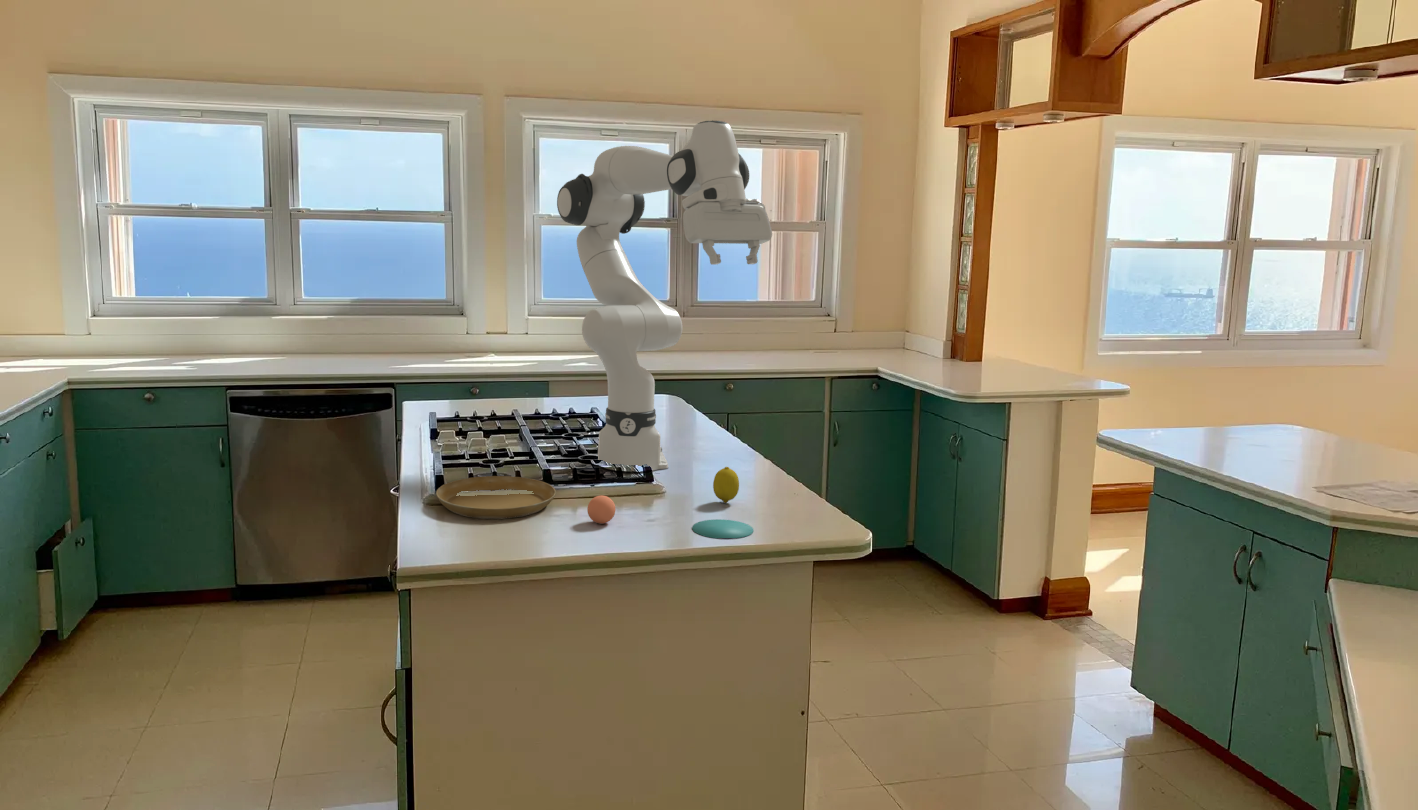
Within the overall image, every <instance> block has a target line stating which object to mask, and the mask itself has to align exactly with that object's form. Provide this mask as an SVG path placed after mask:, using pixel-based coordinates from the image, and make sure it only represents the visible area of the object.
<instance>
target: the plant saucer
mask: <svg viewBox="0 0 1418 810" xmlns="http://www.w3.org/2000/svg"><path fill="white" fill-rule="evenodd" d="M499 489H500V490H501V489H504V490H506V489H507V490H508V489H512V490H513V489H514V490H515V489H516V490H527V491H533V492H532V493H534V494H520V493H519V494H509V495H508V494H507V495H477V496H476V495H475V496H460V495H459V496H456V495H457V493H459V492H461V491H476V490H478V491H479V490H491V491H492V490H499ZM556 491H557V490H556V488H554V486H553V485H552V484H550V483H547V482H545V481H542V480H540V479H539V480H538V479H533V478H528V477H521V476H509V475H489V476H486V475H485V476H474V477H467V478H462V479H457V480H452V481H450V482H447V483H444V484H442V485H441V486H440V487H438V488H437V489H436V491H435V493H436V494H435V495H436V497H437V499H438V501H439V502H440V503H441V505H442V506H443V507H445V508H446V509H447V510H449V511H450V512H452V513H454V514H456V515H460V516H464V517H468V518H475V519H486V520H488V519H490V520H491V519H492V520H495V519H496V520H500V519H513V518H514V519H515V518H522V517H525V516H529V515H533V514H536V513H538V512H540V511H542V510H543V509H545V508H546V507H547V506H549V504H550V503H552V501H553V500H554V498H555V496H556Z"/></svg>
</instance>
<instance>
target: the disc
mask: <svg viewBox="0 0 1418 810" xmlns="http://www.w3.org/2000/svg"><path fill="white" fill-rule="evenodd" d="M692 531H693V532H694V533H696V534H697V535H699V536H703V537H707V538H713V539H718V538H736V539H742V537H743V538H747V537H749V536H751V535H752V534H753V533H754V528H753V526H751V525H749V524H748V523H745V522H742V521H738V520H732V519H705V520H701V521H698V522H695V523H694V524H693V525H692Z"/></svg>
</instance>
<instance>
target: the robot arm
mask: <svg viewBox="0 0 1418 810" xmlns="http://www.w3.org/2000/svg"><path fill="white" fill-rule="evenodd" d="M593 165H594V166H593V172H592V173H591V174H590V175H585V174H584V173H580V174H578V175H577V176H576V177H575V178H573V179H571V180H569V181H566V182H565V183H564V184H563V185H562V186H561V187H560V189H559V190H558V193H557V199H556V207H557V212H558V214H559V215H560V218H561V219H562V220H563V221H564V222H565V223H567V224H570V225H573V226H581V225H582V226H585V227H583V228H581V230H580V231H579V233H578V235H577V237H576V248H577V253H578V257H579V261H580V265H581V267H582V269H583V270H582V271H583V273H584V274H585V277H586V279H587V282H588V285H589V287H590V289H591V291H592V294H593V296H594V298H595V299H596V300H597V301H598V302H599V303H600V304H601V305H603V306H601V307H598V308H593V309H591V310H589V311H588V312H587V313H586V314H585V316H584V319H583V321H582V324H581V334H582V337H583V340H584V342H585V343H586V345H587V347H588V348H589V349H590V350H592V351H593V352H594V353H596V355H597V356H598V357H599V359H600V360H601V363H602V365H603V367H604V370H605V373H606V378H607V407H606V408H605V414H604V416H605V423H606V424H605V426H604V427H603V428H602V429H601V430H599V432H598V433H599V434H598V444H597V445H598V447H597V456H598V460H603V461H605V462H607V463H611V464H624V465H638V466H642V465H644V464H647V465H648V466H650V467H651V468H652V469H653V470H652V471H657V470H663V469H668V468H669V463H668V460H667V459H666V457H665V454H664V452H663V448H662V446H661V433H660V432H659V431H658V430H657V428H656V426H655V424H656V421H657V420H656V418H657V413H656V409H655V388H656V387H655V386H656V383H655V379H654V376H653V374H652V373H651V372H650V371H649V370H647V369H646V368H644V367H643V366H641V365H640V363H639V361H638V357H637V352H649V351H659V350H660V351H661V350H663V349H667V348H670V347H673V346H675V345H677V344H678V342H679V341H680V339H681V337H682V333H683V321H682V318H681V316H680V314H679V313H678V311H677V310H676V309H675V308H673V307H671V306H669V305H667V304H666V303H664V302H662V301H661V300H659V298H658V299H657V297H655V296H654V295H653V294H652V293H651V292H650V291H649V290H648V289H647V288H646V287H645V286H644V285H643V284H642V282H640V280H639V278H638V277H637V275H636V273H635V271H634V270H633V267H632V265H631V263H630V261H629V259H628V256H627V254H626V252H625V250H624V249H623V248H624V247H622V244H621V241H620V234H628V233H629V232H631V229H632V227H634V226H636V224H637V223H638V222H639V220H641V218H642V216H643V214H644V212H645V206H646V203H645V202H646V201H645V196H644V195H645V194H646V195H647V194H651V193H657V192H663V191H670V190H672V191H673V192H674V193H675V194H676V195H677V196H682V197H684V198H683V199H682V200H681V206H682V208H683V209H684V211H683V214H682V223H683V224H682V225H683V232H684V237H685V239H686V240H687V241H688V243H690V244H701V245H702V249H703V250H704V252H705V253H706V255H707V256H708V257H709V264H710V265H713V266H714V265H717V266H718V265H720V264H721V263H722V259H721V254H720V253H717V252H716V250H715V248H714V246H715V244H730V245H731V244H740V245H741V244H745V245H747V247H748V248H747V249H750V250H749V254H748V255H747V256H745V258H746V264H747V265H756V264H757V263H759V262H758V261H759V260H758V254H759V250H760V246H761V245H762V244H764V243H767V242H769V241H771V239H772V237H773V230H772V226H771V223H770V219H769V215H768V213H767V210H766V205H764V204H763V202H761V200H759V199H757V198H756V199H755V198H753V199H751V198H746V192H745V190H746V188H747V187H748V184H749V182H750V181H749V180H750V170H749V166H748V164H747V162H746V160H745V159H744V157H743V156H742V155H741V154H740V152H739V150H738V145H737V140H736V137H735V133H734V130H733V129H732V127H731V125H730V123H728V122H726V121H723V120H705V121H700V122H697V123H696V124H695V125H694V126H693V128H692V132H691V136H690V138H689V140H688V142H687V143H686V144H685V146H684V147H683V148H682V149H681V150H679V151H677V152H675V154H674V155H671V154H668V153H664V152H661V151H658V150H654V149H650V148H646V147H642V146H638V145H637V146H636V145H621V146H616V147H615V146H614V147H610V148H609V149H605V150H604V151H602V152H601V153H599V155H597V158H596V159H595V161H594V164H593Z"/></svg>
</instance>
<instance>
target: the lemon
mask: <svg viewBox="0 0 1418 810" xmlns="http://www.w3.org/2000/svg"><path fill="white" fill-rule="evenodd" d="M739 480H740V479H739V476H738V474H737V473H736V471H735V470H733V469H732V468H730V467H729V466H725V467H723V468H722V469H719V470H718V471H717V472H716V473H715V476H714V478H713V483H712V488H713V492H714V495H715V496H716V498H718V499H719V500H720V501H722V502H723V503H724V504H727V503H728V502H729V501H732V500H733V499H735V498H736V496H737V495H738V493H739V490H740V481H739Z"/></svg>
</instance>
